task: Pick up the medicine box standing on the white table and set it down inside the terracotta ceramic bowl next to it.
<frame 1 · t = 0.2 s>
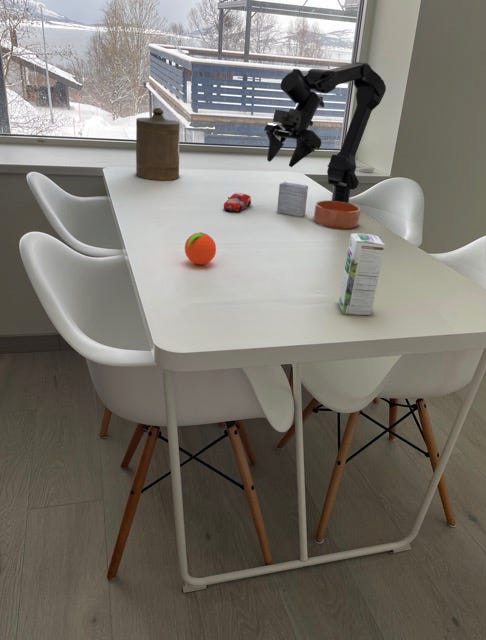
hand: (279, 163, 167), 15 cm above the table, tool tilted 30°, fingers open, 9 cm apart
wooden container: (157, 176, 207), on the table
syrup box: (354, 310, 116), on the table
race car: (237, 208, 178), on the table
clementine: (198, 265, 130), on the table
bowl: (335, 223, 173), on the table
medicine box: (290, 214, 178), on the table
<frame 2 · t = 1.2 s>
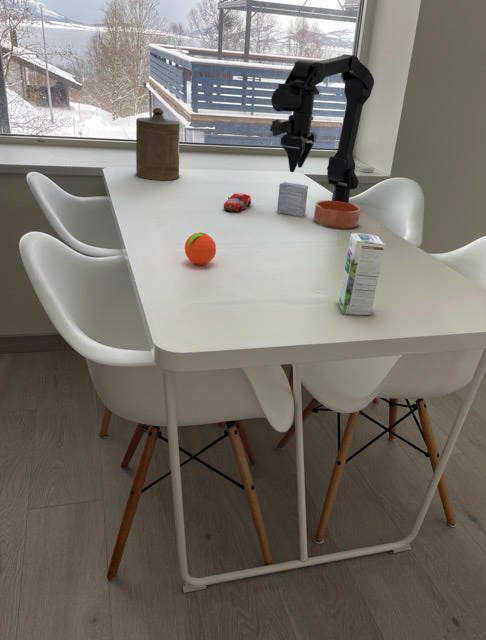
hand: (295, 169, 171), 13 cm above the table, tool pointing down, fingers open, 9 cm apart
nothing on the table moved.
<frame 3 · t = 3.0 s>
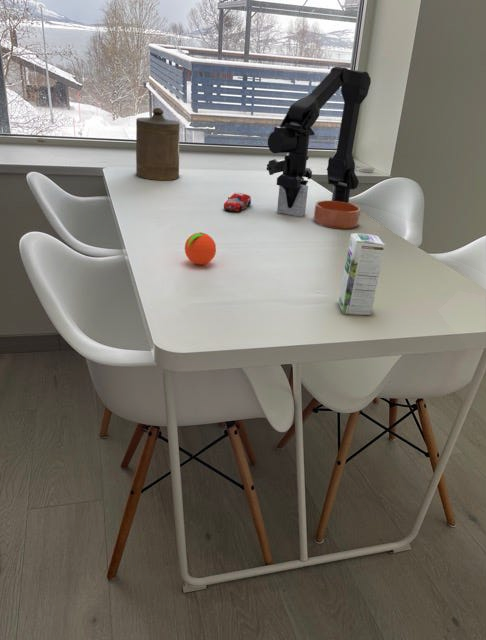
hand: (291, 206, 177), 2 cm above the table, tool pointing down, fingers closed on medicine box, 4 cm apart
medicine box: (290, 214, 178), on the table, touching gripper
everything else where it was.
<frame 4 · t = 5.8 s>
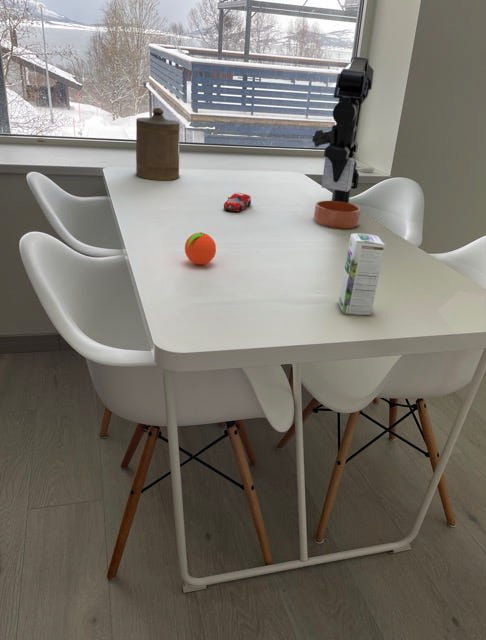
hand: (337, 180, 168), 12 cm above the table, tool pointing down, fingers closed on medicine box, 4 cm apart
medicine box: (335, 189, 169), point 10 cm above the table, touching gripper
everything else where it was.
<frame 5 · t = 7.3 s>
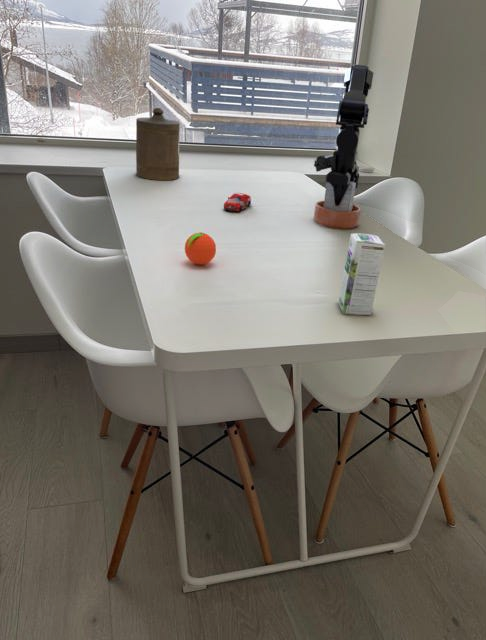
hand: (338, 203, 170), 6 cm above the table, tool pointing down, fingers closed on medicine box, 4 cm apart
medicine box: (337, 212, 172), point 3 cm above the table, touching gripper
everything else where it was.
when the fingers open (3 cm above the table, at t = 8.5 s): medicine box stays where it is, resting on bowl.
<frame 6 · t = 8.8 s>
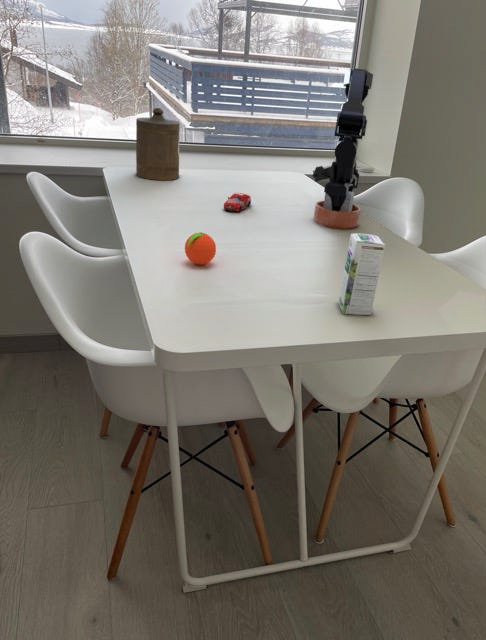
hand: (336, 213, 172), 3 cm above the table, tool pointing down, fingers open, 7 cm apart
medicine box: (335, 221, 173), resting on bowl
everything else where it was.
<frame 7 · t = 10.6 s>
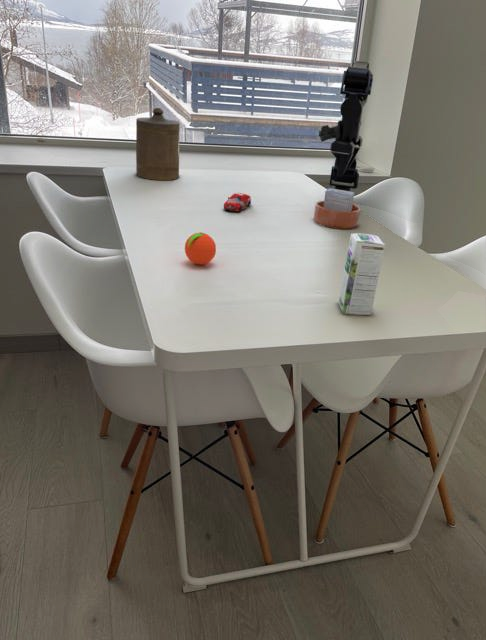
hand: (342, 174, 173), 13 cm above the table, tool pointing down, fingers open, 9 cm apart
nothing on the table moved.
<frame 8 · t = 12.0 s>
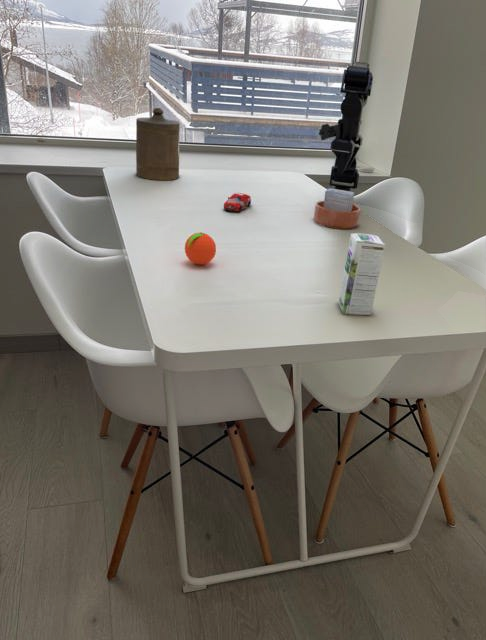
hand: (342, 173, 174), 13 cm above the table, tool pointing down, fingers open, 9 cm apart
nothing on the table moved.
at the end: medicine box inside the target area in the bowl (0.1 cm from its centre), point 0.4 cm above the bowl's base; the gripper is holding nothing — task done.
